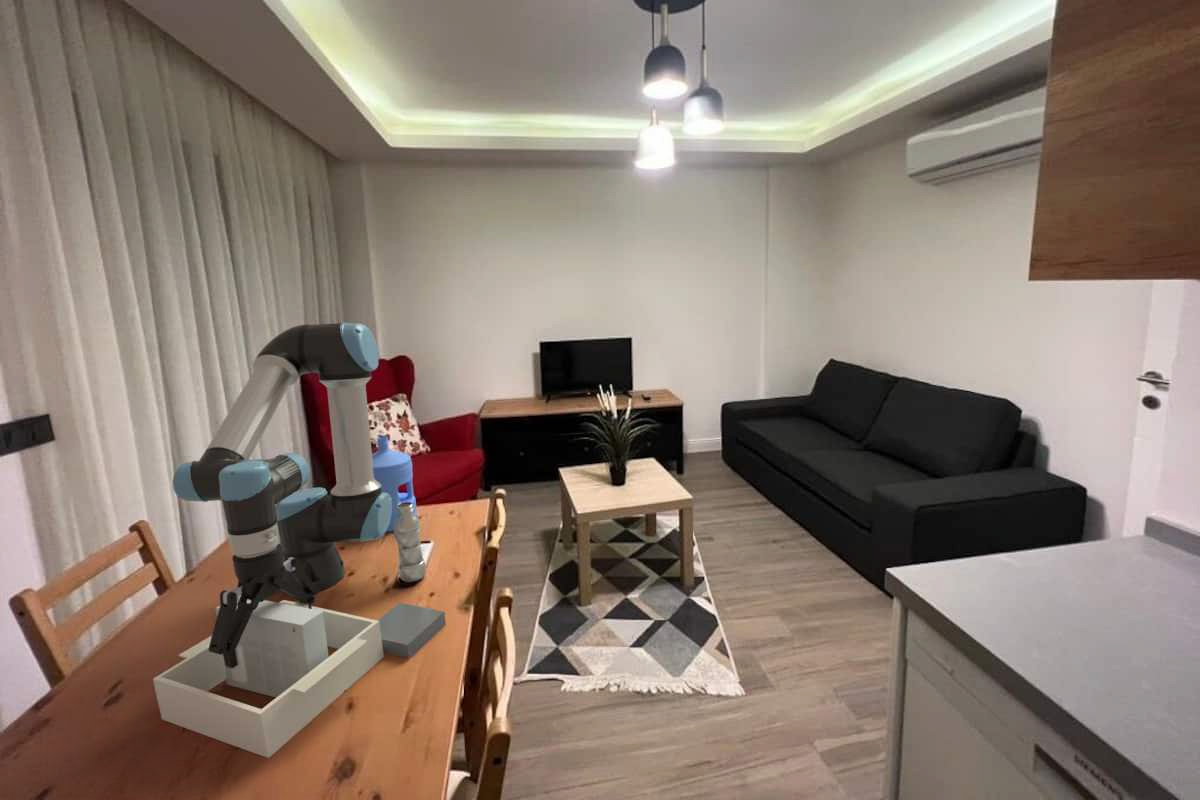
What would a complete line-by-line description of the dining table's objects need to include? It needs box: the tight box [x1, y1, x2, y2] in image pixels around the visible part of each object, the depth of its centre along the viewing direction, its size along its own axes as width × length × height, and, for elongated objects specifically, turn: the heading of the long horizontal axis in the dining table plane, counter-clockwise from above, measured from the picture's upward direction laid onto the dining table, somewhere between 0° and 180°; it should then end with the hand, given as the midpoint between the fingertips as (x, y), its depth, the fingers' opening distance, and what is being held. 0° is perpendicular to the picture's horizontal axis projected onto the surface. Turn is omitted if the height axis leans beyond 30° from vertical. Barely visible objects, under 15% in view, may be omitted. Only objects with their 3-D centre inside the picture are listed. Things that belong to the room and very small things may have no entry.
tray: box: [152, 599, 385, 759], centre depth 103 cm, size 31×26×8 cm
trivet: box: [377, 602, 446, 659], centre depth 117 cm, size 12×12×3 cm
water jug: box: [372, 435, 419, 533], centre depth 173 cm, size 16×16×28 cm
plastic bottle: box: [393, 502, 427, 583], centre depth 139 cm, size 6×7×20 cm
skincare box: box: [215, 595, 329, 698], centre depth 102 cm, size 21×6×16 cm, turn 71°
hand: (275, 656), depth 102 cm, fingers open, 13 cm apart
